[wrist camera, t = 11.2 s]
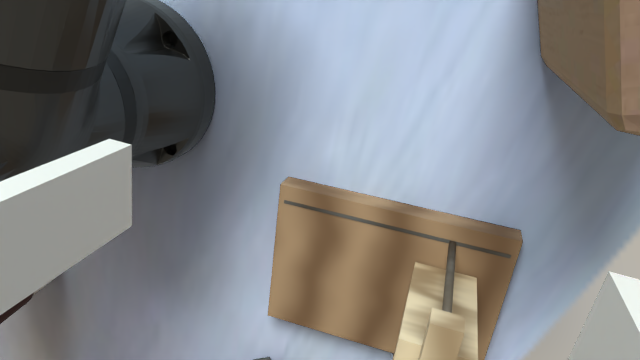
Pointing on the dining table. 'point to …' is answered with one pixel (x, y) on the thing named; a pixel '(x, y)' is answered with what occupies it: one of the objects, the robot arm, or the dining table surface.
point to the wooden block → (596, 54)
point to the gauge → (439, 314)
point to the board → (376, 261)
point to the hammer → (264, 358)
